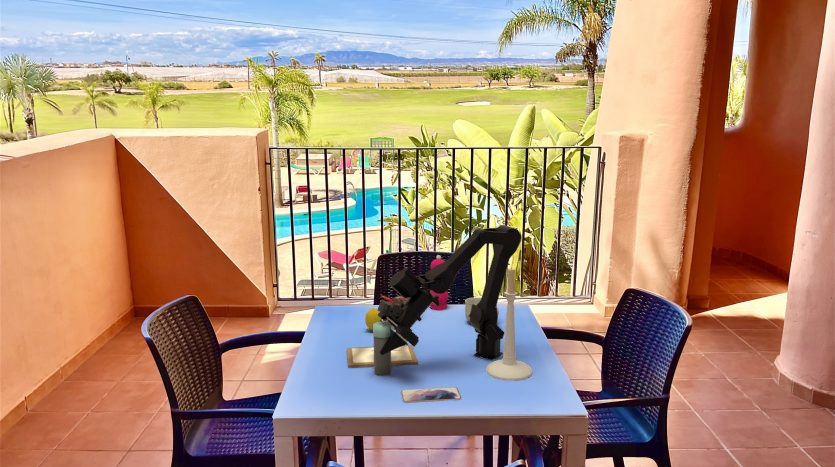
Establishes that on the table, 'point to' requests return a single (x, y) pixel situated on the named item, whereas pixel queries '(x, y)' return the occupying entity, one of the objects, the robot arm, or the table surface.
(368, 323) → the lemon
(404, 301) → the decorative bird figurine
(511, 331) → the candlestick
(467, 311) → the teacup
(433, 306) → the pepper mill
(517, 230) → the robot arm
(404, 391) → the smartphone
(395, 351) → the writing board
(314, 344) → the table surface
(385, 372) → the canister
